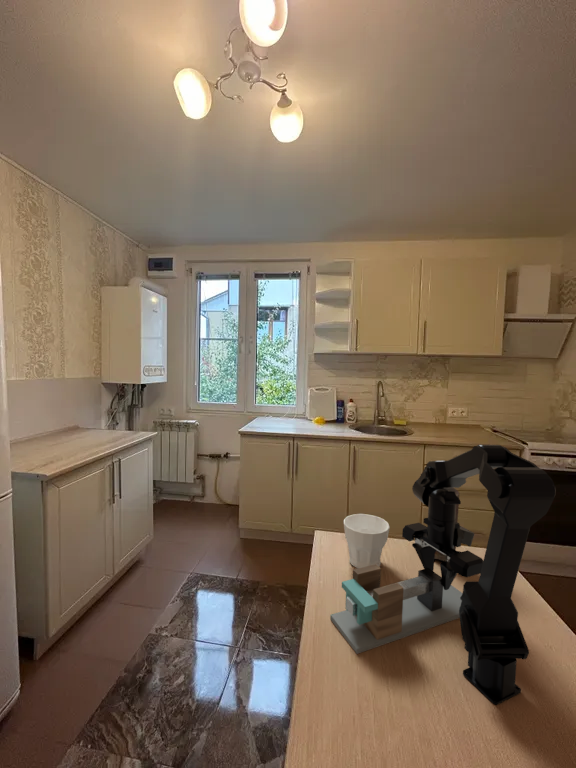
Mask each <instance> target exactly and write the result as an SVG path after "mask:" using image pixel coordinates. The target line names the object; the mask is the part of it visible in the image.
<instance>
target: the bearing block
mask: <svg viewBox="0 0 576 768" xmlns="http://www.w3.org/2000/svg"><path fill="white" fill-rule="evenodd" d="M381 570H382V569H381V566H380V567H379V566H377V565H376V564H374V565H370V566H366V567H362V568H355V569H352V579H355V580H356V581H357V582H358V583H359V584H360V585H361V587H362V588H363V589H364V590H365V591H369V590H373V599H374V600H375V601H376V602H377V603H378V609H376V610H373V611H372V621H370V622H367V623H363V624H364V625H365V626H366V628H367V629H368V630H369V631H370V632H371V634H372V635H373V636H374V637H375V638H376V639H377V640H379V639H382V638H385V637H388V636H390V635H393V634H396V633H399V632H402V610H403V587H402V586H401V585H400V584H398V583H397V582H394V583H391V585H390V584H387V585H385V586H384V587H383V586H381V577H382V576H381V575H382V571H381ZM356 616H357V615H356Z"/></svg>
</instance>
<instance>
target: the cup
mask: <svg viewBox="0 0 576 768" xmlns="http://www.w3.org/2000/svg"><path fill="white" fill-rule="evenodd" d="M343 529H344V530H343V531H344V538H345V539H346V543H347V548H348V555H349V563H350V564H351V565H352V566H353V567H354V568H355V569H358V568H362V567H366V566H370V565H374V564H376V565H377V566H379V567H380V568H381V556H382V552H383V549H384V547H385V546H386V544H387V542H388V537H389V534H390V533H389V532H390V524H389V522H388V521H387V520H385V519H384V518H381V517H379V516H378V515H372V514H365V513H356V514H355V513H354V514H351V515H347V516H346V517H345V518H344V519H343Z"/></svg>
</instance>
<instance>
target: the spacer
mask: <svg viewBox="0 0 576 768" xmlns="http://www.w3.org/2000/svg"><path fill="white" fill-rule="evenodd" d="M341 588H342V589H343V591H344V592H345V598H346V597H348V596H350V597H351V598H352V599H353V600H354V601H355V603H356V604H357V623H358V624H359V625H360V624H363V623H367V622H370V621H372V611H373V610H376V609H378V603H377V602H376V601H375V600H374V599H373V598H372V597H371V596H370V595H369V594H368V593H367V592H366V591H365V590H364V589H363V588H362V587H361V585H360V584H359V583H358V582H357V581H356V580H355V579H353V578H351V579H347V580H344V581H341ZM344 608H345V610H347V609H346V606H345V607H344ZM347 611H348V610H347Z"/></svg>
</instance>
